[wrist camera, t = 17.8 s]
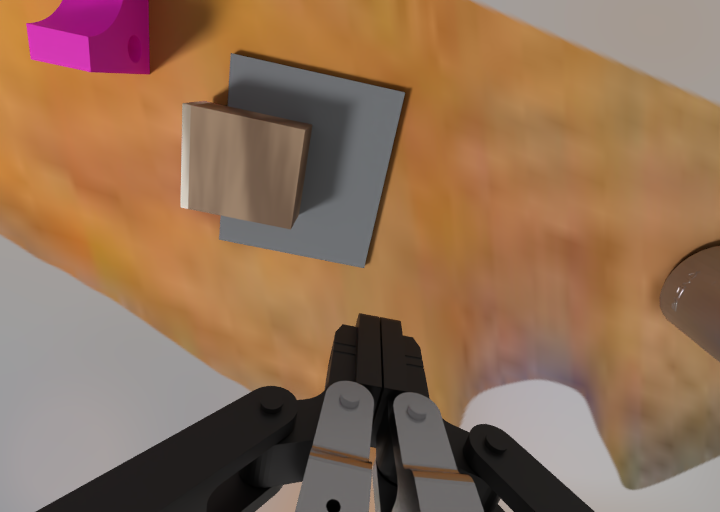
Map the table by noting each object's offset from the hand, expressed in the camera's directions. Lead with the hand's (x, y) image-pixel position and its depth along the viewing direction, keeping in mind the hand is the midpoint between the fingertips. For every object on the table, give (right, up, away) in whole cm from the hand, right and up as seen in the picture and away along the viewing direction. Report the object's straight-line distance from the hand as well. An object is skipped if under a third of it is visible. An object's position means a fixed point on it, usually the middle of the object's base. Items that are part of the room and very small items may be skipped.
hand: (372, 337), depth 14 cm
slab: (-5, +9, +18) cm, 21 cm away
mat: (-5, +10, +21) cm, 24 cm away
